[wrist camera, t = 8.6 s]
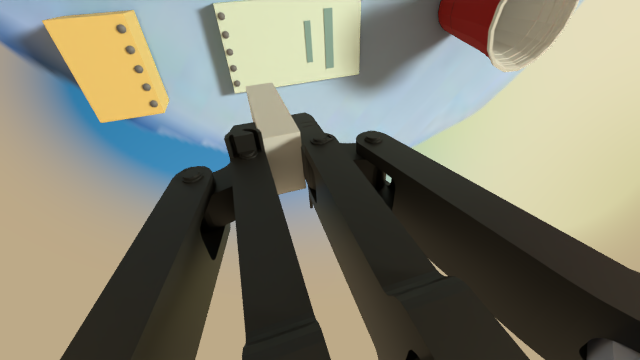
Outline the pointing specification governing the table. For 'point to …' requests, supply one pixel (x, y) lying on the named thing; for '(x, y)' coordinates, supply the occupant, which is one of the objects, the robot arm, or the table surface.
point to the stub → (110, 63)
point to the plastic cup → (507, 27)
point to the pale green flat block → (289, 40)
